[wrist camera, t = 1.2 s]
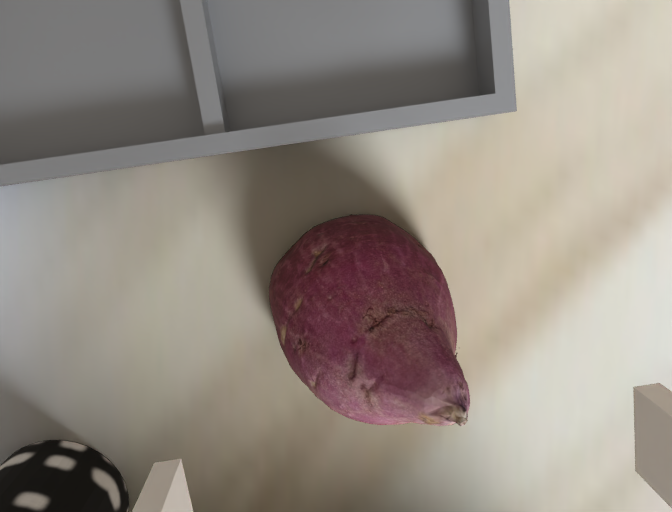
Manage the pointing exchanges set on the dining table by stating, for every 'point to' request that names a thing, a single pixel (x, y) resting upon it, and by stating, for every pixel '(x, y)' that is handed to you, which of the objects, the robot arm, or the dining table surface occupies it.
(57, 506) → the white-spotted black cylinder
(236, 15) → the grey compartment tray
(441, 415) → the vegetable
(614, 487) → the dining table surface
